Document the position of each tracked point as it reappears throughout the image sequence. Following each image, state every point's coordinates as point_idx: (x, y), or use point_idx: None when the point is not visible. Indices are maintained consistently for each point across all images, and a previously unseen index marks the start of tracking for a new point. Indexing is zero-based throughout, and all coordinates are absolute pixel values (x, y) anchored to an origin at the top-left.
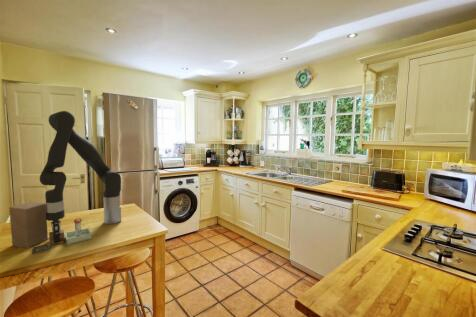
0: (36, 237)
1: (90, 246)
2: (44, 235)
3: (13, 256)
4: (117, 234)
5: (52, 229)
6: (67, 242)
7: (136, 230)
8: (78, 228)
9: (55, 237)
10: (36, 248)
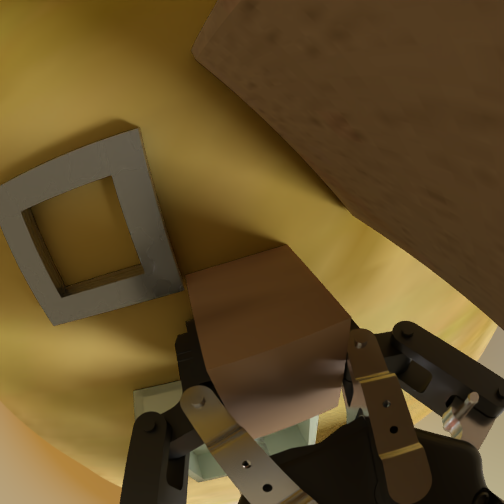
0: (323, 142)
1: (98, 458)
2: (373, 219)
3: (25, 5)
4: (209, 483)
5: (233, 482)
6: (137, 413)
7: (222, 496)
8: (241, 494)
9: (184, 391)
10: (75, 186)
